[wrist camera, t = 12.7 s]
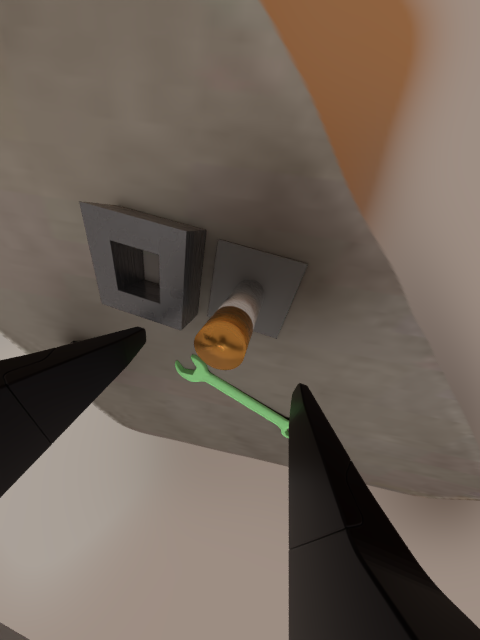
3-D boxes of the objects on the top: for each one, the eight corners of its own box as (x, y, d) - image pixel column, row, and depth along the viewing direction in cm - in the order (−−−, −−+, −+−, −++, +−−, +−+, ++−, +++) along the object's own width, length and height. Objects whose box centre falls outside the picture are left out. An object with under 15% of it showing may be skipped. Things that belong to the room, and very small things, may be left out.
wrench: (186, 343, 27) (176, 363, 30) (179, 351, 25) (170, 371, 28) (319, 425, 28) (298, 438, 31) (321, 438, 26) (298, 450, 29)
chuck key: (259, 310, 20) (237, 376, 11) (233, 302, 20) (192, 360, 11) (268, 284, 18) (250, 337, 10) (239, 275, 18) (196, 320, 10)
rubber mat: (276, 336, 21) (276, 338, 21) (208, 314, 22) (207, 316, 22) (307, 263, 17) (307, 264, 16) (219, 239, 17) (218, 239, 17)
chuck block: (197, 314, 22) (181, 330, 19) (128, 292, 23) (101, 303, 20) (206, 229, 17) (186, 231, 14) (117, 205, 18) (79, 201, 15)
